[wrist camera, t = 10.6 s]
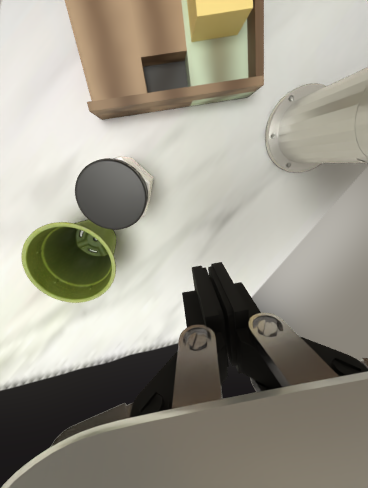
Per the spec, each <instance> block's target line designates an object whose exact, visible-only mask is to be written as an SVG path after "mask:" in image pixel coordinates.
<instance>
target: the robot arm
mask: <svg viewBox="0 0 368 488" xmlns="http://www.w3.org/2000/svg"><path fill="white" fill-rule="evenodd" d="M288 98H289V100H288ZM270 136H272V137H271V138H270ZM266 147H267V150H268V154H269V156H270V157H271V159H272V161H273V162H274V163H275V164H276V165H277V166H278V167H280V168H281V169H283V170H286V171H289V172H305V171H309V170H311V169H314V168H316V167H317V166H319V165H320V164H322V163H368V67H367V68H365V69H363V70H361V71H359V72H356V73H354V74H352V75H350V76H348V77H346V78H343V79H341V80H339V81H337V82H335V83H333V84H331V85H328V86H325V85H322V84H317V83H316V84H306V85H303V86H300V87H298V88H296V89H294V90H293V91H291V92H289V93H288V94H287V95H286V96H284V97H283V98H282V99H281V100H280V101H279V103H278V104H277V105H276V107H275V108H274V110H273V112H272V114H271V116H270V118H269V121H268V124H267V129H266ZM286 164H287V165H286ZM208 270H209V275H208V272H207V270H206V268H202V266H196V267H192V273H193V280H194V286H195V291H189V292H184V293H182V295H183V302H184V309H185V317H186V324H187V328H186V329H185V330H184V331H183V332H182V333H181V335H180V338H179V344H178V351H177V352H176V354H175V355H174V356H173V357H172V358H171V359H170V360H169V361H168V362H167V364H166V365H165V366H164V367H163V368H162V369H161V370H160V371H159V373H158V374H157V375H156V376H155V377H154V378H153V379H152V380H151V381H150V382H149V384H148V385H147V386H146V387H145V388H144V389H143V390H142V391H141V392H140V394H139V395H138V396H137V398H136V399H135V400H134V403H131V404H129V405H127V406H126V404H125V403H123V404H121V405H119V406H117V407H115V408H112V409H110V410H108V411H105V412H103V413H101V414H99V415H96V416H94V417H92V418H89V419H87V420H85V421H83V422H80V423H78V424H76V425H74V426H71V427H70V428H68V429H66V430H65V431H63V432H62V433H61V434H60V435H59V436H58V437H57V438H56V439H55V441H54V443H53V444H52V445H51V447H50V448H49V449H47V450H46V451H44V452H42V453H41V454H39V455H38V456H36V457H35V458H34V459H32V460H31V461H30V462H28V463H27V464H26V465H24V466H23V467H22V468H21V469H19V470H18V471H17V472H16V473H15V474H14V475H13V476H12V477H11V478H10V479H9V480H8V481H7V482H6V483H5V484H4V485H3V486H2V487H1V488H368V358H362V360H361V361H358V360H357V359H355V358H353V357H351V356H349V355H347V354H344V353H342V352H339V351H337V350H334V349H331V348H329V347H326V346H323V345H321V344H318V343H316V342H313V341H310V340H308V339H305V338H303V337H300V336H299V335H297V334H296V332H294V330H293V329H292V328H291V327H290V326H289V325H288V324H287V323H286V322H285V321H284V320H282V319H281V318H280V317H278V316H276V315H274V314H270V313H261V312H260V311H259V309H258V308H257V306H256V304H255V303H254V301H253V300H252V298H251V296H250V295H249V293H248V292H247V290H246V289H245V287H244V285H243V284H242V283H241V282H240V283H235V284H234V283H233V281H232V280H231V278H230V276H229V274H228V273H227V271H226V269H225V267H224V266H223V264H222V262H219V263H214V264H212V265H211V267H208ZM227 353H228V354H227ZM228 356H229V359H230V362H231V365H232V366H236V367H237V370H238V373H244V374H245V375H247V376H249V377H251V382H252V384H253V387H254V388H255V390H256V393H251V394H246V395H240V396H235V397H231V398H225V399H223V398H222V389H221V386H222V384H223V383H224V381H225V380H226V378H227V376H228V373H227V367H228V366H229V365H228Z"/></svg>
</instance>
